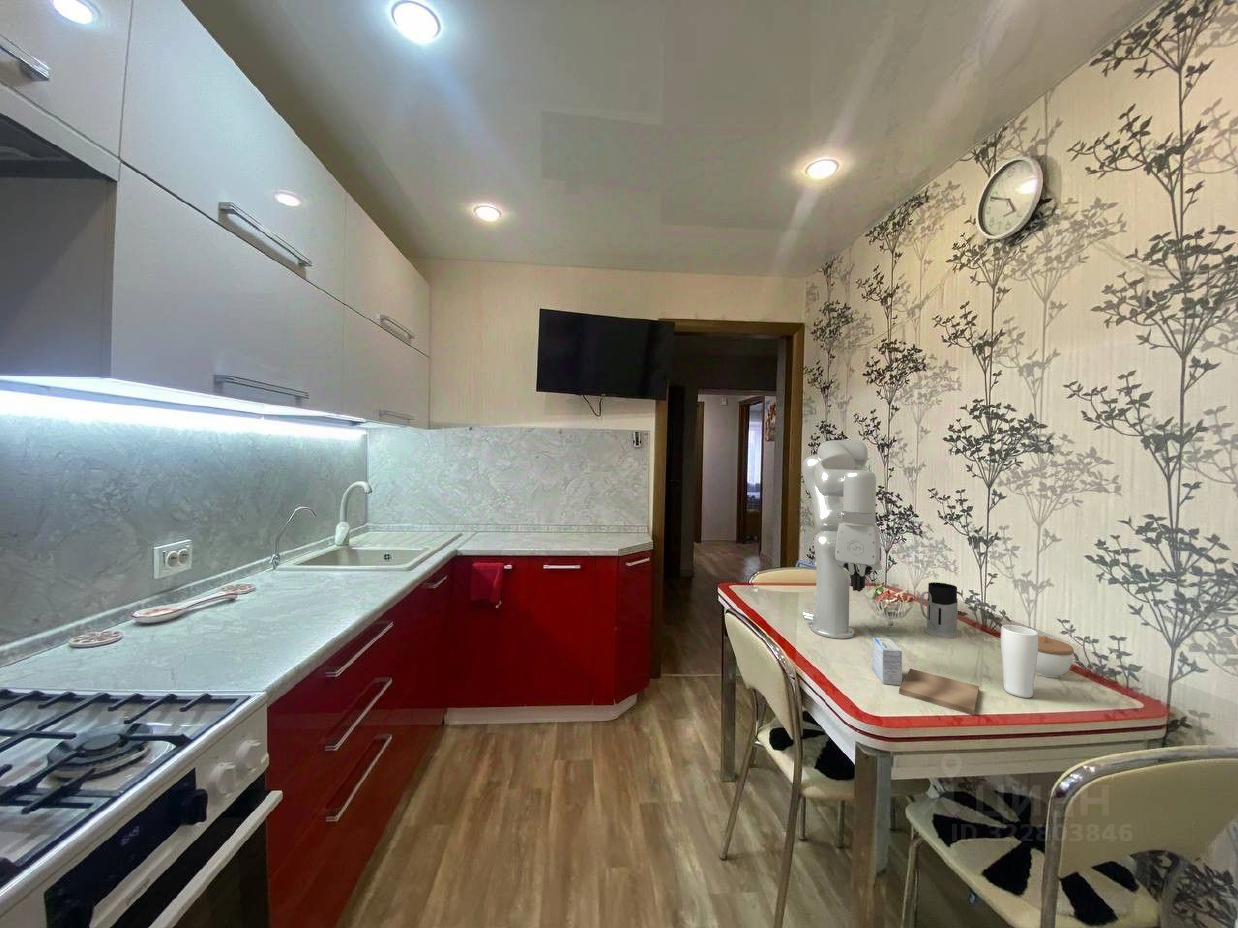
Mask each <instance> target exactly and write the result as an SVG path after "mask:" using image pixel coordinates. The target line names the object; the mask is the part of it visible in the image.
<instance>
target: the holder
mask: <svg viewBox="0 0 1238 928" xmlns="http://www.w3.org/2000/svg"><path fill="white" fill-rule="evenodd" d="M927 585H928V587H927V590H928V591H923V592H922V593H921V595H920V598H919V605H920V611H921V613H922V616H923V617H924V618H925V620H926V627H925V628H924V631H925V633H927V634H929V635H931V636H935V637H939V638H944V639H956V638H959V633H958V587H957V585H956V586H955V585H954V584H949V583H944V582H937V581H936V582H934V581H933V582H928V583H927ZM926 594H927V599H926V600H927V605H926V613H925V610H924V596H925V595H926Z"/></svg>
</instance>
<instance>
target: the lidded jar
mask: <svg viewBox="0 0 1238 928" xmlns="http://www.w3.org/2000/svg"><path fill="white" fill-rule="evenodd" d="M1038 642H1039V644H1038V657H1037V664H1036V671H1035V675H1038V676H1041V677H1045V678H1052V679H1056V678H1057V679H1058V678H1060V677H1061V676H1062V675H1065V674H1066V673H1068V671H1070V669H1071V668H1072V665H1073V660H1074V658H1073V657H1074V647H1073V646H1072V645H1070V644H1068V643H1066V642H1063V641H1062V640H1060V639H1059V640H1058V639H1056V638H1055V639H1054V638H1051V637H1048V636H1047V635H1042V636H1041V635H1038Z"/></svg>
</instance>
